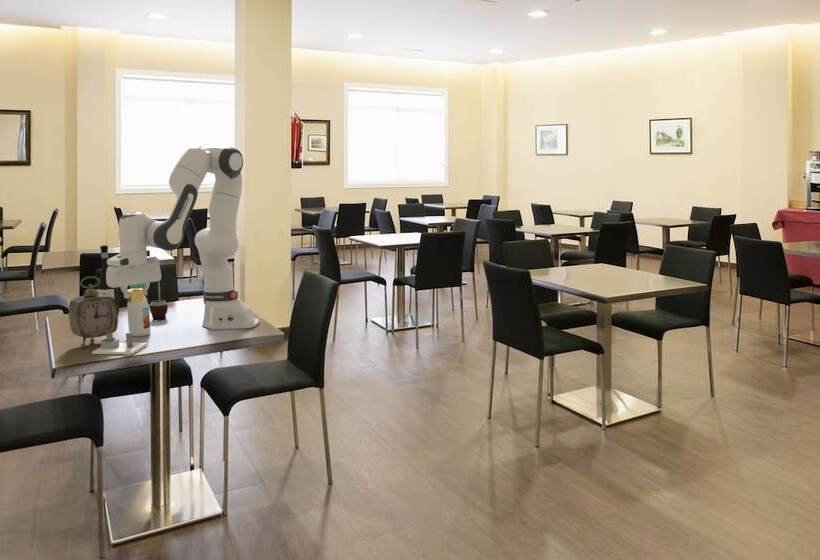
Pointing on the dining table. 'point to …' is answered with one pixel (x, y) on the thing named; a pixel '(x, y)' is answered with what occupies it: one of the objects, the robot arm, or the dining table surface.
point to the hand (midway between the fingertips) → (135, 296)
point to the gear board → (118, 345)
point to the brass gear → (136, 295)
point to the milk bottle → (138, 316)
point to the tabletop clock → (92, 314)
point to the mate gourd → (158, 308)
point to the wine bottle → (103, 287)
